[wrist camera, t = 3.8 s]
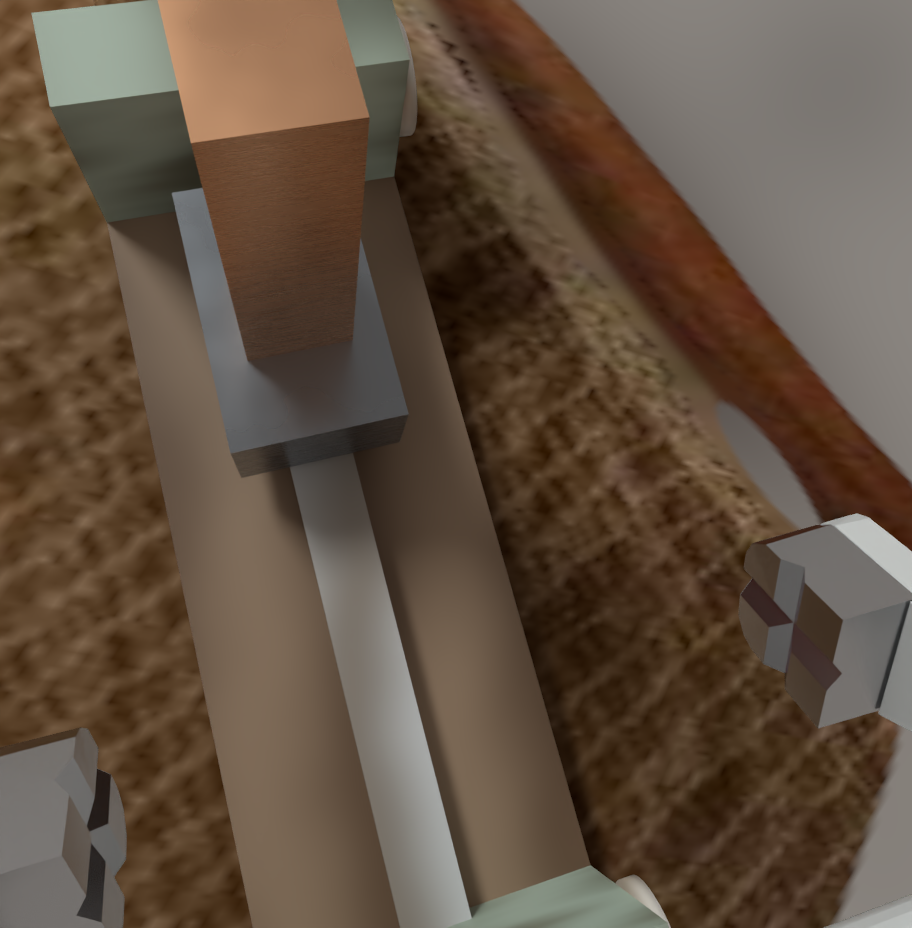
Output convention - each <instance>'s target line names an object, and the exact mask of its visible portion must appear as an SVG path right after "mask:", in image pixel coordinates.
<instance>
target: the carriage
mask: <svg viewBox="0 0 912 928" xmlns="http://www.w3.org/2000/svg"><path fill="white" fill-rule="evenodd" d="M158 4H159V8H160V13H161V17H162V21H163V26H164V30H165V34H166V38H167V43H168V47H169V51H170V56H171V60H172V64H173V68H174V73H175V77H176V81H177V85H178V90H179V94H180V98H181V103H182V107H183V111H184V115H185V120H186V124H187V128H188V133H189V137H190V141H191V145H192V149H193V153H194V157H195V161H196V164H197V168H198V172H199V176H200V180H201V184H202V188H199V189H193V190H187V191H180V192H174V193H172V197H173V201H174V205H175V210H176V214H177V219H178V223H179V228H180V232H181V236H182V241H183V245H184V250H185V254H186V259H187V263H188V268H189V272H190V276H191V281H192V285H193V290H194V294H195V299H196V303H197V307H198V312H199V316H200V321H201V325H202V330H203V334H204V338H205V343H206V347H207V352H208V356H209V361H210V365H211V370H212V374H213V378H214V383H215V387H216V392H217V396H218V401H219V405H220V409H221V414H222V418H223V423H224V427H225V432H226V436H227V441H228V445H229V449H230V454H231V456H232V458H233V460H234V463H235V465H236V467H237V469H238V472H239V474H240V476H241V478H244V477H249V476H253V475H257V474H262V473H266V472H271V471H275V470H279V469H284V468H288V467H292V466H297V465H301V464H306V463H310V462H314V461H319V460H323V459H328V458H332V457H336V456H341V455H345V454H350V453H354V452H358V451H363V450H367V449H371V448H376V447H380V446H385V445H389V444H393V443H398V442H400V440H401V437H402V434H403V430H404V427H405V424H406V421H407V418H408V415H409V413H408V410H407V406H406V402H405V399H404V395H403V391H402V388H401V384H400V380H399V377H398V373H397V369H396V366H395V362H394V358H393V355H392V351H391V347H390V344H389V340H388V336H387V333H386V329H385V325H384V322H383V318H382V314H381V311H380V307H379V303H378V300H377V296H376V292H375V288H374V285H373V281H372V277H371V274H370V270H369V266H368V263H367V259H366V255H365V252H364V248H363V244H362V241H361V224H362V211H363V198H364V185H365V171H366V158H367V145H368V132H369V118H370V117H369V113H368V110H367V106H366V103H365V99H364V96H363V92H362V89H361V85H360V82H359V78H358V74H357V71H356V67H355V64H354V60H353V57H352V53H351V50H350V46H349V43H348V39H347V36H346V32H345V29H344V25H343V21H342V18H341V14H340V11H339V7H338V4H337V0H158Z"/></svg>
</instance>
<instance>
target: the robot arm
mask: <svg viewBox="0 0 912 928" xmlns="http://www.w3.org/2000/svg"><path fill="white" fill-rule="evenodd" d="M744 569H745V570H746V571H747V572H748V574H749V575H750V576H751V577H752V580H751V581H750V582H749V584H748V585H747V586H746V588H745V589H744V590H743V592H742V593H741V594H740V602H739V614H738V615H739V619H740V622H741V626H742V630H743V634H744V636H745V638H746V640H747V642H748V644H749V645H750V647H751V649H752V650H753V652H754V653H755V654H756V655H757V657H758V658H759V659H760V660H761V662H762V663H763V664H765V665H767V666H770V667H772V668H774V669H777V670H779V671H781V672H783V673H785V690H786V691H787V692H788V694H789V695H790V696H791V697H792V698H793V700H794V701H795V702H796V703H797V704H798V705H799V707H800V708H801V709H802V710H803V711H804V712H805V714H806V715H807V716H808V717H809V718H810V719H811V721H812V722H813V723H814V724H815V725H816V726H817V728H821V727H824V726H828V725H831V724H834V723H838V722H841V721H844V720H848V719H851V718H855V717H858V716H861V715H865V714H868V713H872V712H875V711H878V710H879V715H881V716H883V717H885V718H887V719H889V720H890V721H892V722H894V723H896V724H898V725H900V726H902V727H903V728H905V729H907V730H909V731H911V732H912V552H911V551H910V550H909V549H908V548H906V547H905V546H904V545H903V544H901V543H900V542H899V541H898V540H896V539H895V538H894V537H893V536H891V535H890V534H889V533H888V532H886V531H885V530H884V529H883V528H881V527H880V526H879V525H878V524H876V523H875V522H874V521H872V520H871V519H870V518H868V517H866V516H863V515H860V514H853V515H850V516H846V517H843V518H839V519H836V520H832V521H829V522H825V523H822V524H821V525H815V526H811V527H808V528H804V529H801V530H797V531H794V532H790V533H787V534H783V535H780V536H776V537H773V538H769V539H766V540H762V541H759V542H755V543H752V545H751V546H750V548H749V549H748V551H747V552H746V557H745V564H744ZM97 760H98V747H97V745H96V743H95V741H94V740H93V738H92V736H91V734H90V732H89V730H88V729H86V728H77V729H73V730H69V731H65V732H61V733H57V734H53V735H49V736H45V737H41V738H37V739H33V740H29V741H25V742H21V743H17V744H13V745H9V746H5V747H1V748H0V928H123V916H124V895H123V893H122V891H121V890H120V888H119V886H118V884H117V882H116V880H115V878H114V876H115V875H116V873H117V872H118V870H119V869H120V867H121V866H122V864H123V863H124V861H125V860H126V838H127V834H126V826H125V818H124V810H123V805H122V802H121V798H120V795H119V792H118V789H117V786H116V784H115V782H114V780H113V778H112V776H111V774H108V773H106V772H104V771H101V770H99V769H97ZM824 928H912V894H911V895H908V896H905V897H902V898H900V899H897V900H895V901H892V902H889V903H887V904H884V905H882V906H879V907H877V908H874V909H871V910H868V911H866V912H863V913H861V914H858V915H855V916H853V917H850V918H848V919H845V920H842V921H840V922H837V923H835V924H832V925H829V926H827V927H824Z"/></svg>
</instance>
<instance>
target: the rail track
mask: <svg viewBox="0 0 912 928" xmlns="http://www.w3.org/2000/svg"><path fill="white" fill-rule="evenodd" d="M337 4H338V7H339V11H340V14H341V18H342V21H343V25H344V29H345V32H346V36H347V39H348V43H349V46H350V50H351V53H352V57H353V60H354V64H355V67H356V71H357V74H358V78H359V82H360V85H361V89H362V92H363V96H364V99H365V103H366V106H367V110H368V113H369V117H370V118H369V132H368V145H367V158H366V171H365V185H364V198H363V211H362V224H361V241H362V244H363V248H364V252H365V255H366V259H367V263H368V266H369V270H370V274H371V277H372V281H373V285H374V288H375V292H376V296H377V300H378V303H379V307H380V311H381V314H382V318H383V322H384V325H385V329H386V333H387V336H388V340H389V344H390V347H391V351H392V355H393V358H394V362H395V366H396V369H397V373H398V377H399V380H400V384H401V388H402V391H403V395H404V399H405V402H406V406H407V410H408V413H409V415H408V418H407V421H406V424H405V427H404V430H403V434H402V437H401V440H400V442H398V443H393V444H389V445H385V446H380V447H376V448H371V449H367V450H363V451H358V452H354V453H350V454H345V455H341V456H336V457H332V458H328V459H323V460H319V461H314V462H310V463H306V464H301V465H297V466H292V467H288V468H284V469H279V470H275V471H271V472H266V473H262V474H257V475H253V476H249V477H244V478H241V476H240V474H239V472H238V469H237V467H236V465H235V463H234V460H233V458H232V456H231V454H230V449H229V445H228V441H227V436H226V432H225V427H224V423H223V418H222V414H221V409H220V405H219V401H218V396H217V392H216V387H215V383H214V378H213V374H212V370H211V365H210V361H209V356H208V352H207V347H206V343H205V338H204V334H203V330H202V325H201V321H200V316H199V312H198V307H197V303H196V299H195V294H194V290H193V285H192V281H191V276H190V272H189V268H188V263H187V259H186V254H185V250H184V245H183V241H182V236H181V232H180V228H179V223H178V219H177V214H176V210H175V205H174V201H173V197H172V193H174V192H180V191H187V190H193V189H199V188H202V184H201V180H200V176H199V172H198V168H197V164H196V161H195V157H194V153H193V149H192V145H191V141H190V137H189V133H188V128H187V124H186V120H185V115H184V111H183V107H182V103H181V98H180V94H179V90H178V85H177V81H176V77H175V73H174V68H173V64H172V60H171V56H170V51H169V47H168V43H167V38H166V34H165V30H164V26H163V21H162V17H161V13H160V8H159V4H158V0H146V1H137V2H128V3H118V4H109V5H100V6H91V7H82V8H73V9H64V10H55V11H46V12H36V13H32V18H33V23H34V28H35V33H36V38H37V43H38V48H39V53H40V58H41V63H42V68H43V74H44V79H45V84H46V89H47V94H48V99H49V104H50V108H51V110H52V112H53V114H54V116H55V118H56V120H57V122H58V124H59V126H60V128H61V130H62V132H63V134H64V136H65V138H66V140H67V142H68V144H69V146H70V148H71V150H72V152H73V154H74V156H75V159H76V161H77V163H78V165H79V167H80V169H81V171H82V173H83V175H84V177H85V179H86V181H87V183H88V185H89V187H90V189H91V191H92V193H93V195H94V197H95V199H96V201H97V203H98V205H99V207H100V209H101V211H102V213H103V215H104V217H105V219H106V221H107V225H108V229H109V234H110V239H111V244H112V249H113V254H114V258H115V263H116V268H117V273H118V278H119V283H120V288H121V292H122V297H123V302H124V307H125V312H126V317H127V321H128V326H129V331H130V336H131V341H132V346H133V350H134V355H135V360H136V365H137V370H138V375H139V379H140V384H141V389H142V394H143V399H144V404H145V408H146V413H147V418H148V423H149V428H150V433H151V437H152V442H153V447H154V452H155V457H156V462H157V466H158V471H159V476H160V481H161V486H162V491H163V495H164V500H165V505H166V510H167V515H168V520H169V524H170V529H171V534H172V539H173V544H174V549H175V554H176V558H177V563H178V568H179V573H180V578H181V583H182V587H183V592H184V597H185V602H186V607H187V612H188V616H189V621H190V626H191V631H192V636H193V641H194V645H195V650H196V655H197V660H198V665H199V670H200V674H201V679H202V684H203V689H204V694H205V699H206V703H207V708H208V713H209V718H210V723H211V728H212V732H213V737H214V742H215V747H216V752H217V757H218V761H219V766H220V771H221V776H222V781H223V786H224V790H225V795H226V800H227V805H228V810H229V815H230V820H231V824H232V829H233V834H234V839H235V844H236V849H237V853H238V858H239V863H240V868H241V873H242V878H243V882H244V887H245V892H246V897H247V902H248V907H249V911H250V916H251V921H252V926H253V928H671V927H670V925H669V923H668V920H667V918H666V916H665V914H664V912H663V910H662V909H661V907H660V905H659V903H658V901H657V900H656V898H655V896H654V895H653V893H652V892H651V890H650V889H649V888H648V886H647V885H646V884H645V883H644V881H643V880H642V879H641V878H639V877H638V876H636V875H631V876H628V877H625V878H622V879H619V880H617V882H616V884H615V883H614V882H612V881H611V880H610V879H608V878H607V877H606V876H604V875H603V874H602V873H600V872H599V871H598V870H596V869H595V868H593V867H592V866H591V865H590V862H589V858H588V855H587V851H586V848H585V844H584V841H583V837H582V834H581V830H580V827H579V823H578V820H577V816H576V812H575V809H574V805H573V802H572V798H571V795H570V791H569V788H568V784H567V781H566V777H565V774H564V770H563V767H562V763H561V760H560V756H559V753H558V749H557V746H556V742H555V739H554V735H553V732H552V728H551V725H550V721H549V718H548V714H547V711H546V707H545V704H544V700H543V697H542V693H541V690H540V686H539V683H538V679H537V676H536V672H535V669H534V665H533V662H532V658H531V655H530V651H529V648H528V644H527V641H526V637H525V634H524V630H523V627H522V623H521V620H520V616H519V613H518V609H517V606H516V602H515V599H514V595H513V592H512V588H511V585H510V581H509V578H508V574H507V571H506V567H505V564H504V560H503V557H502V553H501V550H500V546H499V542H498V539H497V535H496V532H495V528H494V525H493V521H492V518H491V514H490V511H489V507H488V504H487V500H486V497H485V493H484V490H483V486H482V483H481V479H480V476H479V472H478V469H477V465H476V462H475V458H474V455H473V451H472V448H471V444H470V441H469V437H468V434H467V430H466V427H465V423H464V420H463V416H462V413H461V409H460V406H459V402H458V399H457V395H456V392H455V388H454V385H453V381H452V378H451V374H450V371H449V367H448V364H447V360H446V357H445V353H444V350H443V346H442V343H441V339H440V336H439V332H438V329H437V325H436V322H435V318H434V315H433V311H432V308H431V304H430V301H429V297H428V294H427V290H426V287H425V283H424V280H423V276H422V272H421V269H420V265H419V262H418V258H417V255H416V251H415V248H414V244H413V241H412V237H411V234H410V230H409V227H408V223H407V220H406V216H405V213H404V209H403V206H402V202H401V199H400V195H399V192H398V188H397V185H396V181H395V178H394V173H395V166H396V158H397V151H398V143H399V137H403V136H410V135H412V134H413V133H414V131H415V128H416V122H417V90H416V80H415V72H414V66H413V60H412V55H411V50H410V46H409V42H408V38H407V35H406V32H405V29H404V27H403V24H402V22H401V20H400V19H399V18H398V16H397V15H396V12H395V8H394V5H393V2H392V0H337Z"/></svg>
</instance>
